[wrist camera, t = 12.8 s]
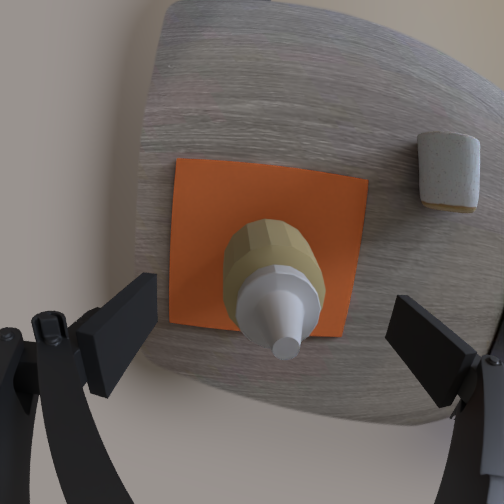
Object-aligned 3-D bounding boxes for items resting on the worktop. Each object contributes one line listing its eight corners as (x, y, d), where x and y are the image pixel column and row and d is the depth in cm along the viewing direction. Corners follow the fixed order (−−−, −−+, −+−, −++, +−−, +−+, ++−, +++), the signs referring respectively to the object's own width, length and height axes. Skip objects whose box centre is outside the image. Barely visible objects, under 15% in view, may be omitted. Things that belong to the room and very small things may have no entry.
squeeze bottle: (289, 300, 30) (329, 423, 12) (217, 279, 29) (174, 391, 12) (315, 229, 28) (404, 285, 11) (239, 204, 28) (218, 226, 10)
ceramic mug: (407, 207, 28) (448, 213, 20) (404, 136, 26) (444, 125, 19) (468, 209, 28) (508, 216, 21) (465, 147, 26) (505, 143, 19)
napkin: (177, 158, 27) (176, 158, 27) (367, 180, 28) (368, 180, 27) (170, 321, 31) (169, 322, 30) (340, 335, 31) (341, 337, 31)
